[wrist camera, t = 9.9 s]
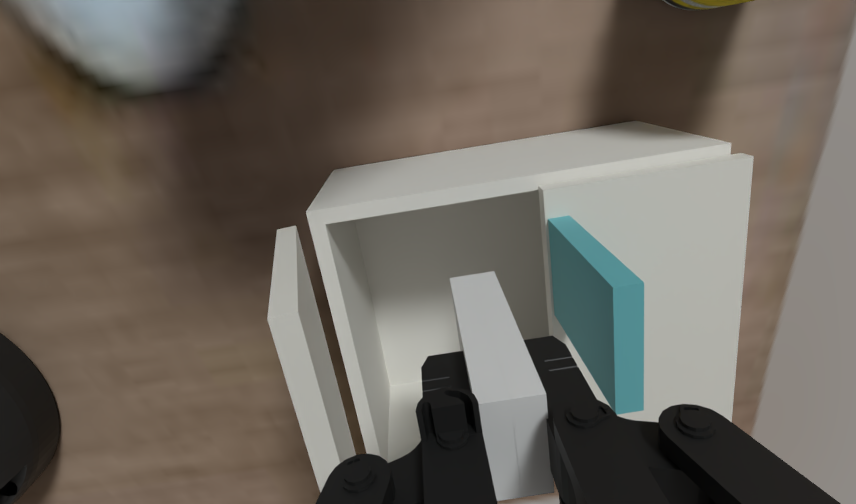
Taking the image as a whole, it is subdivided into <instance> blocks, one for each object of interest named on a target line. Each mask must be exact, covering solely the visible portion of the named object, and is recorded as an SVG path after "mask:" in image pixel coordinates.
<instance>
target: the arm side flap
mask: <svg viewBox="0 0 856 504" xmlns="http://www.w3.org/2000/svg"><path fill="white" fill-rule="evenodd" d="M267 320H268V323H269V326H270V330H271V333H272V336H273V339H274V343H275V346H276V349H277V353H278V356H279V359H280V362H281V366H282V369H283V372H284V375H285V379H286V382H287V385H288V389H289V392H290V395H291V398H292V402H293V405H294V408H295V411H296V415H297V418H298V421H299V425H300V428H301V431H302V434H303V438H304V441H305V444H306V447H307V451H308V454H309V457H310V461H311V464H312V467H313V470H314V474H315V477H316V480H317V483H318V487H319V490H320V493H321V491H322V489H323V487H324V485H325V483H326V481H327V479H328V477H329V475H330V474H331V472H332V471H333V470H334V468H335V467H336V466H337V465H339V464H340V463H341V462H343V461H344V460H346V459H348V458H350V457H353V456H355V455H356V453H355V449H354V445H353V441H352V437H351V434H350V430H349V426H348V422H347V418H346V414H345V411H344V407H343V403H342V399H341V395H340V392H339V388H338V384H337V380H336V376H335V372H334V369H333V365H332V361H331V357H330V353H329V350H328V346H327V342H326V338H325V334H324V330H323V327H322V323H321V319H320V315H319V311H318V307H317V304H316V300H315V296H314V292H313V288H312V285H311V281H310V277H309V273H308V269H307V265H306V262H305V258H304V254H303V250H302V246H301V243H300V239H299V235H298V231H297V227H296V226H291V227H287V228H282V229H277V234H276V243H275V253H274V262H273V271H272V281H271V290H270V299H269V309H268V318H267Z"/></svg>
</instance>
